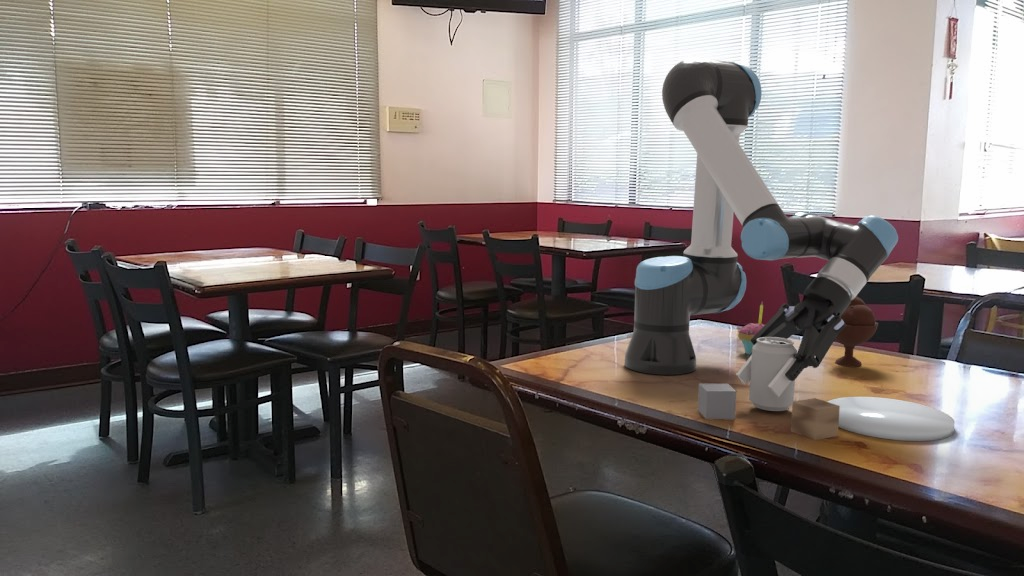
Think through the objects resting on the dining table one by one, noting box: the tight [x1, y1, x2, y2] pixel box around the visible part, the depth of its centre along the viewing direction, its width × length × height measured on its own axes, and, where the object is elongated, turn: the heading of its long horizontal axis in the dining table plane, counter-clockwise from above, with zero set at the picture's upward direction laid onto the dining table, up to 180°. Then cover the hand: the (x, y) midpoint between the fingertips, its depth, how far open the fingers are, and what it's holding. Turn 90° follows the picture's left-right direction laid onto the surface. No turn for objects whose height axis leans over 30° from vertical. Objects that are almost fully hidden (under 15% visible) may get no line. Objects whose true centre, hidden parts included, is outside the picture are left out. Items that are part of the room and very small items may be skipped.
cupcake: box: [737, 301, 766, 356], centre depth 186 cm, size 9×8×12 cm
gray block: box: [697, 383, 737, 420], centre depth 138 cm, size 5×5×5 cm
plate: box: [826, 396, 955, 442], centre depth 135 cm, size 20×20×2 cm
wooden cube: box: [790, 397, 840, 441], centre depth 129 cm, size 5×5×5 cm
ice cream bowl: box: [834, 296, 879, 368], centre depth 176 cm, size 11×11×15 cm
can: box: [748, 337, 798, 412], centre depth 141 cm, size 8×8×12 cm
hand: (756, 385), depth 140 cm, fingers closed on can, 7 cm apart
